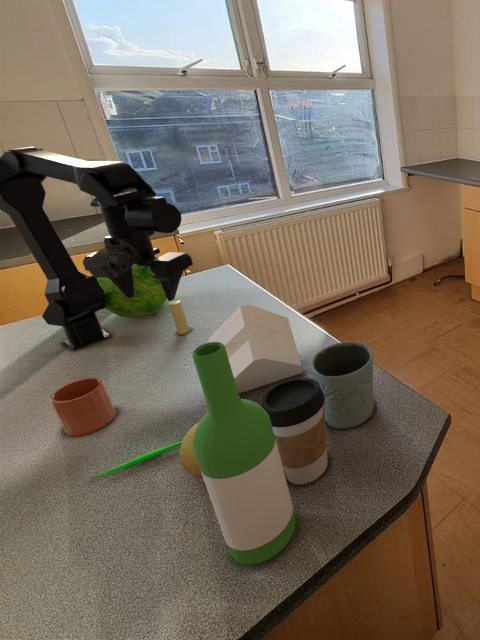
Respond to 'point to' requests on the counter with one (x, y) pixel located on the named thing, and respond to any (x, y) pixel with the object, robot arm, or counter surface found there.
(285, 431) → the coffee cup
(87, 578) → the counter surface
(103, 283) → the lettuce
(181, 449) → the apple
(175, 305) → the tan solid cylinder
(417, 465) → the counter surface
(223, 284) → the counter surface
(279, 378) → the beige block
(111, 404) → the cup
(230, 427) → the bottle
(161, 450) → the leaf
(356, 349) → the grey green pot
